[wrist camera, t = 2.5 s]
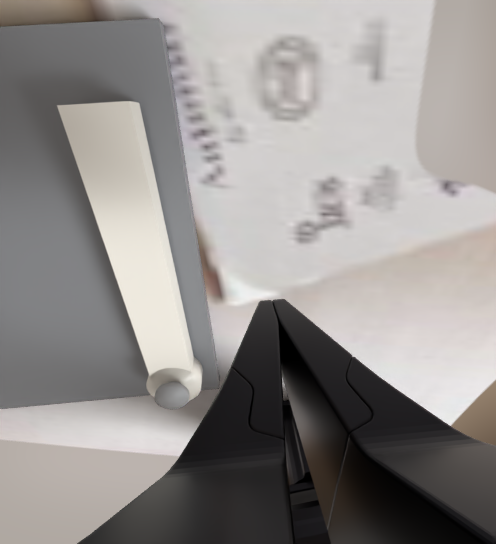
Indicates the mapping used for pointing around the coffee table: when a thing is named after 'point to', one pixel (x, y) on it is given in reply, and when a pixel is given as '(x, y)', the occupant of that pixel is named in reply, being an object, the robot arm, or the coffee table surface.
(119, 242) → the link
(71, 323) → the pivot base plate
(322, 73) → the coffee table surface
